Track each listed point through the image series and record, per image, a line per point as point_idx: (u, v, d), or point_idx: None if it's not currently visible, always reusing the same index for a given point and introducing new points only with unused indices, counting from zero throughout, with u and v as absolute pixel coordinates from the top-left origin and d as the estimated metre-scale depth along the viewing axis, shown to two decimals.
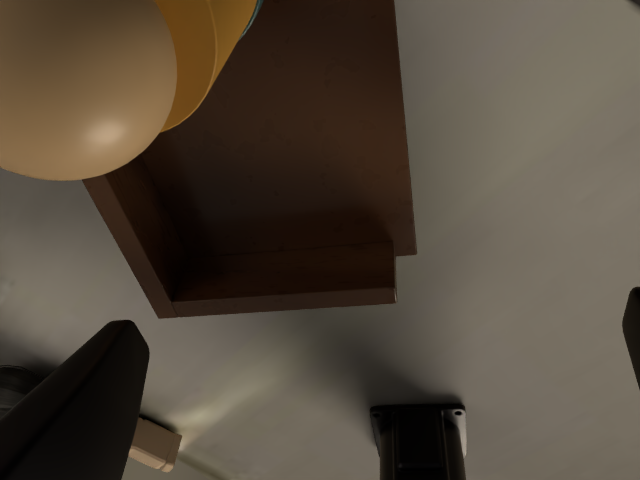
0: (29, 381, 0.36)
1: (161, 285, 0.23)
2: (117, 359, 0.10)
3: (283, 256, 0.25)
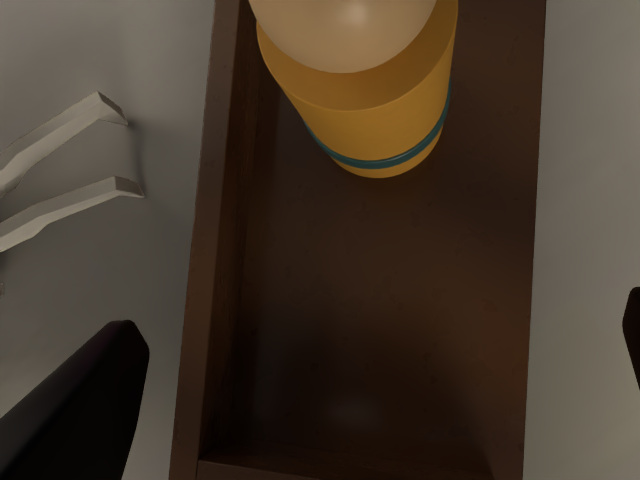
0: None
1: (200, 427, 0.18)
2: (117, 359, 0.10)
3: (349, 457, 0.19)
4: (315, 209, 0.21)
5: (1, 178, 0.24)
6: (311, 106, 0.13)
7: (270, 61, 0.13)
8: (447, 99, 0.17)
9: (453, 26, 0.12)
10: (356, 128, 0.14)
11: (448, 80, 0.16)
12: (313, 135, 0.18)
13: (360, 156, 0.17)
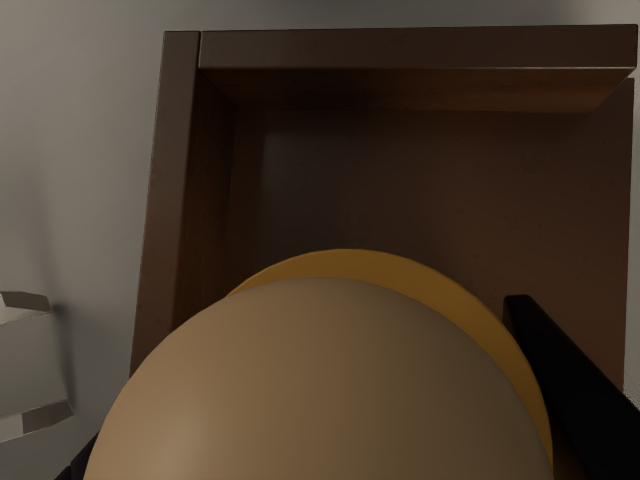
0: None
1: None
2: None
3: None
4: None
5: None
6: None
7: None
8: None
9: None
10: None
11: None
12: None
13: None
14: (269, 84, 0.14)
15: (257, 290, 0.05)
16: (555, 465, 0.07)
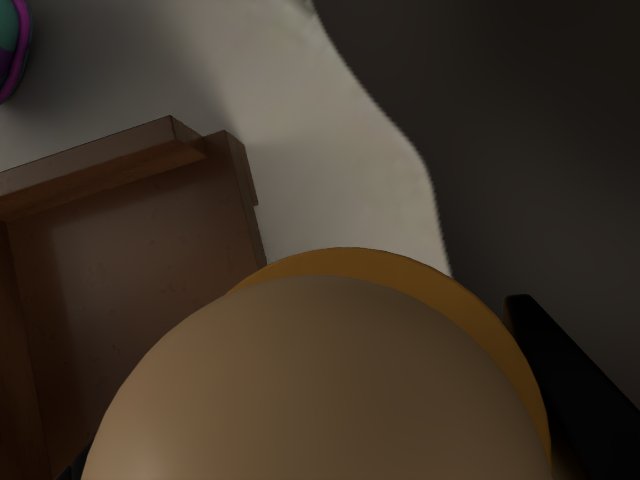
0: None
1: None
2: None
3: None
4: None
5: None
6: None
7: None
8: None
9: None
10: None
11: None
12: None
13: None
14: (2, 206, 0.22)
15: (255, 288, 0.05)
16: (555, 465, 0.07)
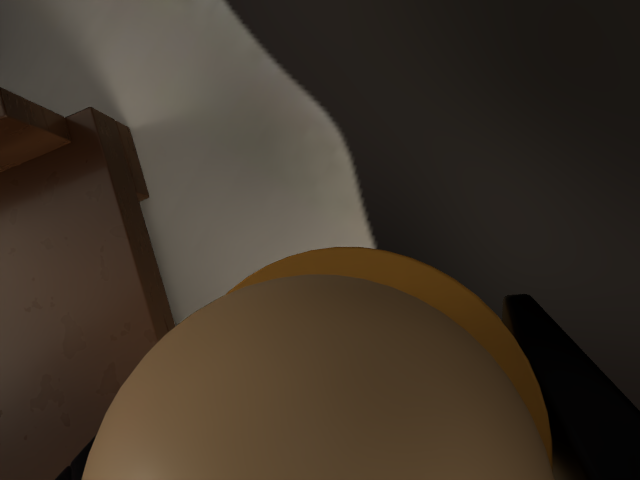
0: None
1: None
2: None
3: None
4: None
5: None
6: None
7: None
8: None
9: None
10: None
11: None
12: None
13: None
14: None
15: (256, 287, 0.05)
16: (555, 465, 0.07)
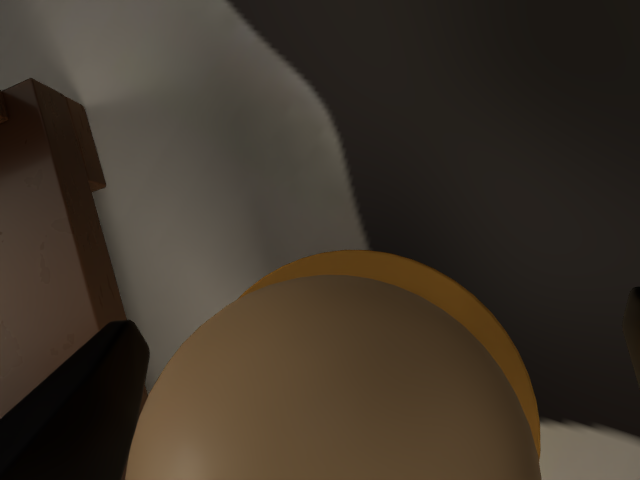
0: None
1: None
2: (117, 359, 0.10)
3: None
4: None
5: None
6: None
7: None
8: None
9: None
10: None
11: None
12: None
13: None
14: None
15: (279, 286, 0.05)
16: None
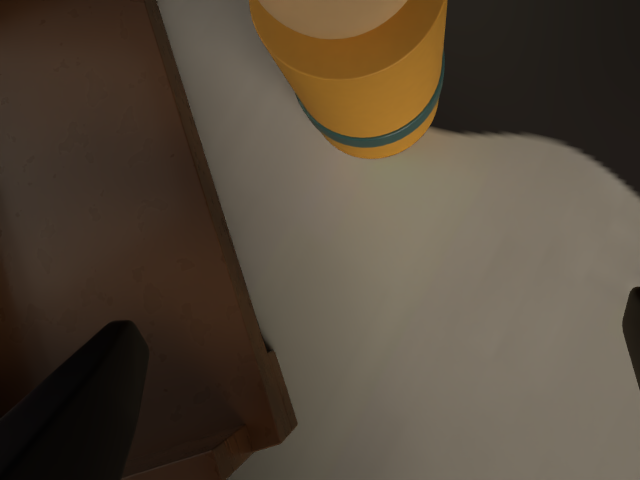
0: None
1: None
2: (117, 359, 0.10)
3: None
4: (6, 244, 0.21)
5: None
6: (303, 75, 0.13)
7: (262, 31, 0.13)
8: (441, 76, 0.17)
9: None
10: (348, 100, 0.14)
11: (441, 55, 0.16)
12: (307, 113, 0.18)
13: (354, 132, 0.17)
14: None
15: None
16: None
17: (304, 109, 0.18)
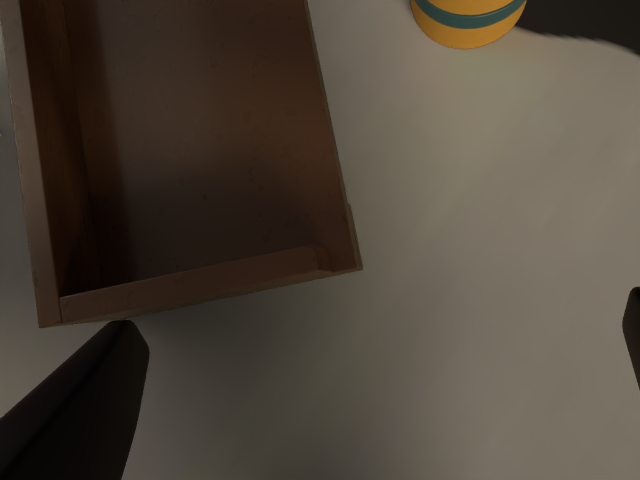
0: None
1: (54, 269, 0.20)
2: (117, 359, 0.10)
3: None
4: (131, 81, 0.24)
5: None
6: None
7: None
8: None
9: None
10: None
11: None
12: None
13: (458, 7, 0.20)
14: None
15: None
16: None
17: None
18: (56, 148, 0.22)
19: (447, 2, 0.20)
